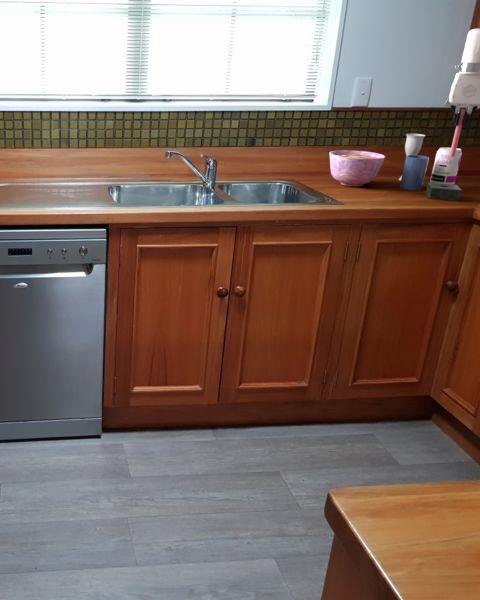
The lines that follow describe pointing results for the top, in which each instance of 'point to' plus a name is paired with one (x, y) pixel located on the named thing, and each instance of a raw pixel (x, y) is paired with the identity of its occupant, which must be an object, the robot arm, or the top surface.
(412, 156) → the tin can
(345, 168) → the bowl of food
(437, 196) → the straw stand
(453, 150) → the straw
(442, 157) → the supplement can
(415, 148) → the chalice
